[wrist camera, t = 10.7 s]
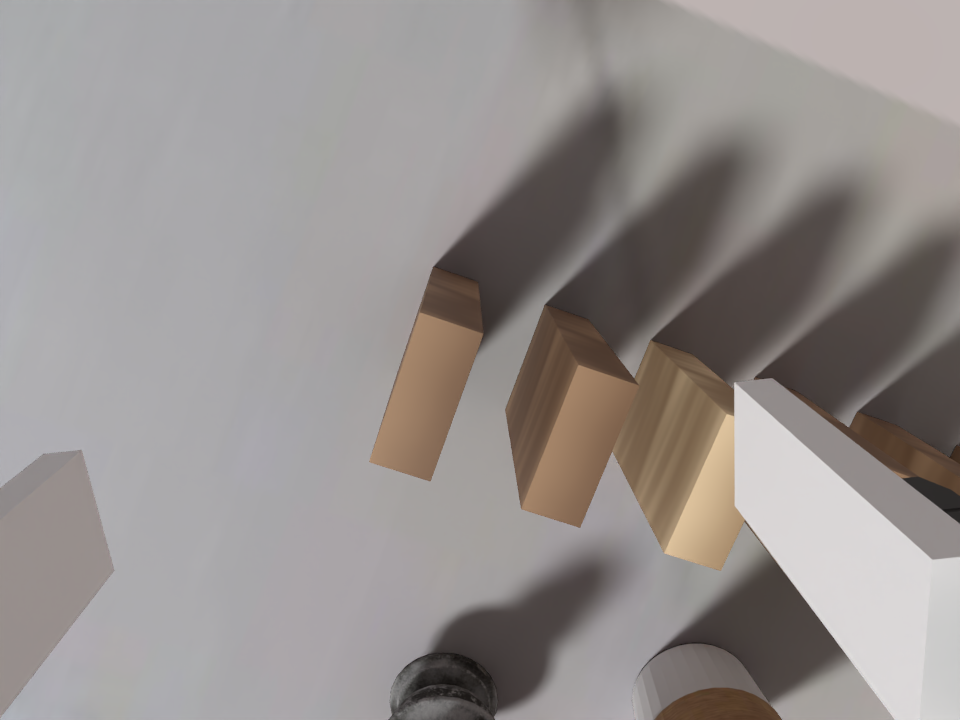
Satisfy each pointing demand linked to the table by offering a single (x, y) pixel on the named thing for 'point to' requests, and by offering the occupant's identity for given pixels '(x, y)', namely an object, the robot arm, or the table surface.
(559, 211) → the table surface
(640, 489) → the oak domino
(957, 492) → the domino
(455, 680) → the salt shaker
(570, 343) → the domino
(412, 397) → the domino
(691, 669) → the coffee cup
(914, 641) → the robot arm
